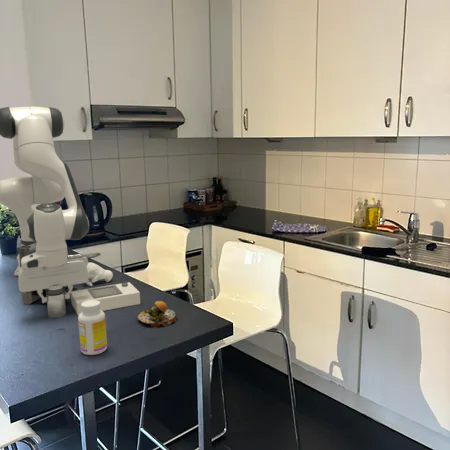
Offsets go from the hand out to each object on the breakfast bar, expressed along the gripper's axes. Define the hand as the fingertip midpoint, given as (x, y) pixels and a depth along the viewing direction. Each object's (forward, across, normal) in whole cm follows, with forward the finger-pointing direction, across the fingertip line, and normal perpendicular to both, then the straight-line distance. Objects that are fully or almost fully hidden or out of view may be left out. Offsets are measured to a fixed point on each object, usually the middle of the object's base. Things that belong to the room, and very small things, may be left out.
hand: (56, 300), depth 141 cm
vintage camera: (+5, 0, -14) cm, 14 cm away
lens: (+5, 0, 0) cm, 5 cm away
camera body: (+5, -16, -2) cm, 16 cm away
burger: (+5, -26, +19) cm, 33 cm away
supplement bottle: (+5, -5, +30) cm, 31 cm away
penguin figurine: (+5, -18, -25) cm, 31 cm away
